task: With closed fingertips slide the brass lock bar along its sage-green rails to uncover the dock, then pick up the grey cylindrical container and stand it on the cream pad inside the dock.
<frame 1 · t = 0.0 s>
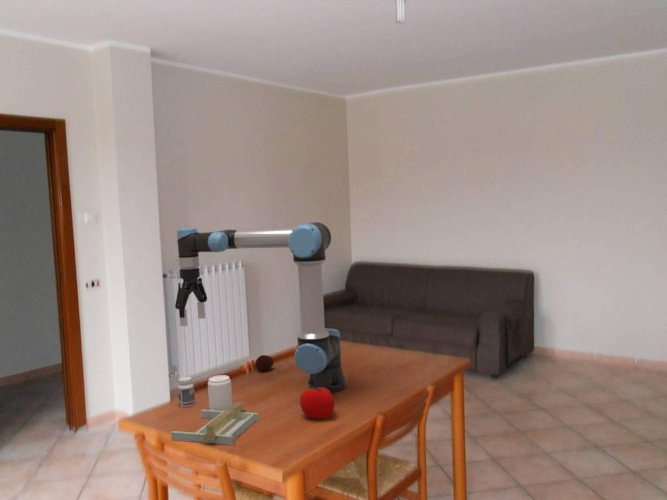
hand: (193, 322, 228), 28 cm above the table, fingers open, 13 cm apart
grey cylindrical container: (221, 411, 208), on the table
tomato: (318, 416, 199), on the table
pill bottle: (187, 405, 217), on the table
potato: (265, 370, 256), on the table
dock: (226, 430, 190), on the table
lock bar: (225, 420, 190), point 4 cm above the table, slide at 0.0 cm
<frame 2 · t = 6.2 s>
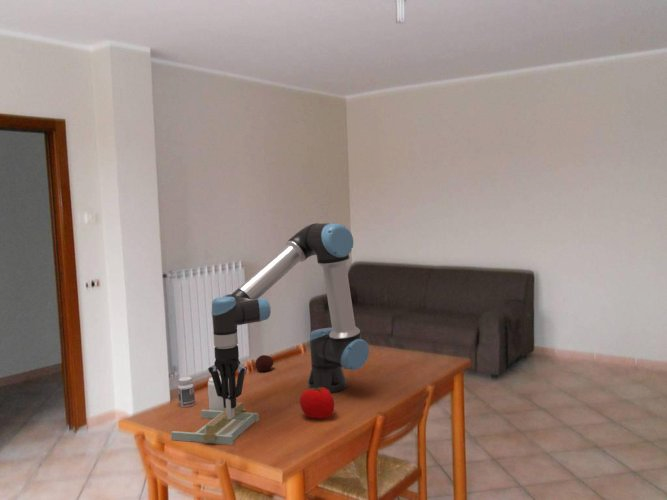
hand: (230, 417, 189), 4 cm above the table, fingers closed
lock bar: (225, 420, 190), point 4 cm above the table, slide at 0.1 cm, touching gripper
everything else where it was.
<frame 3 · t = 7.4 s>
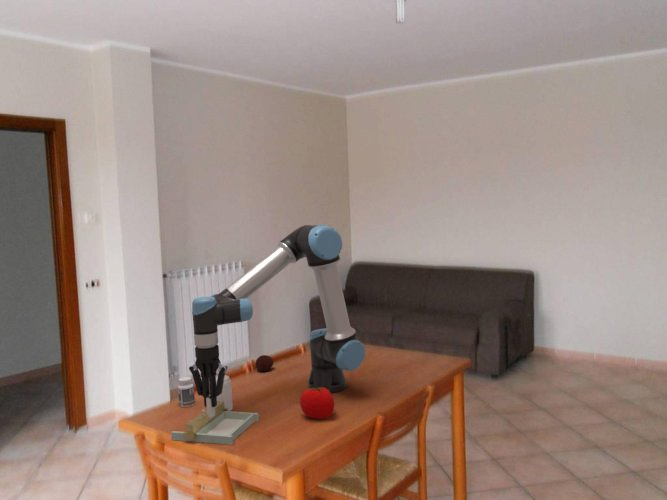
hand: (211, 416, 191), 4 cm above the table, fingers closed
lock bar: (206, 418, 192), point 4 cm above the table, slide at 7.0 cm, touching gripper
everything else where it was.
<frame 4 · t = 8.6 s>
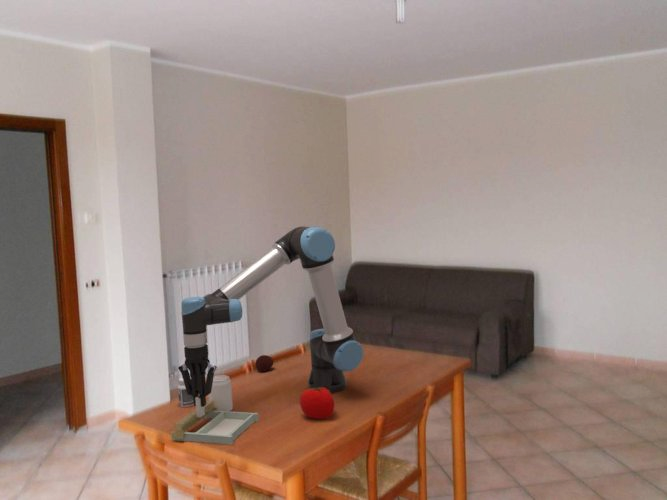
hand: (200, 415, 192), 4 cm above the table, fingers closed
lock bar: (195, 418, 193), point 4 cm above the table, slide at 10.9 cm, touching gripper
everything else where it was.
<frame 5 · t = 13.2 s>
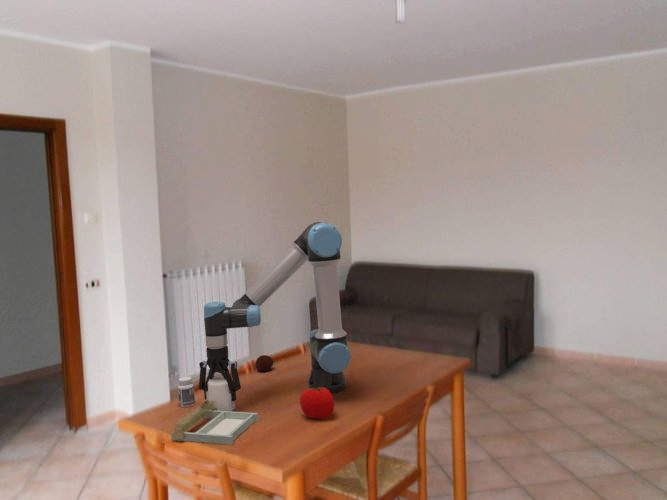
hand: (221, 409, 208), 1 cm above the table, fingers closed on grey cylindrical container, 8 cm apart
grey cylindrical container: (221, 411, 208), on the table, touching gripper
lock bar: (195, 418, 193), point 4 cm above the table, slide at 10.9 cm
everything else where it was.
when the fingers open (2 cm above the table, at t = 18.4 s): grey cylindrical container drops 1 cm, resting on dock.
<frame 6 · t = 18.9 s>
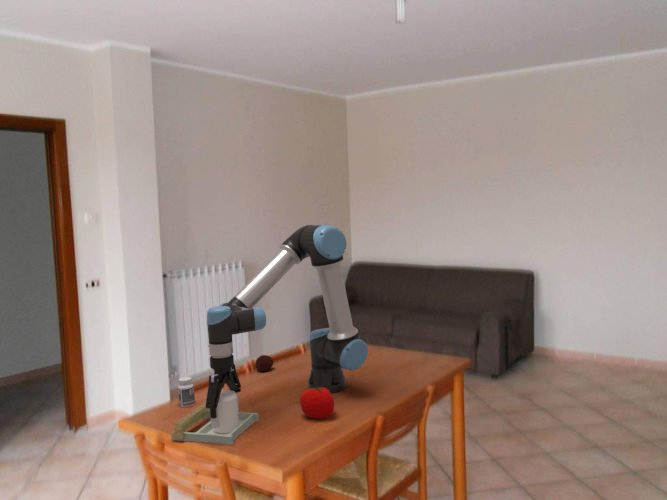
hand: (225, 419, 190), 4 cm above the table, fingers open, 13 cm apart
grey cylindrical container: (226, 430, 190), resting on dock
everything else where it was.
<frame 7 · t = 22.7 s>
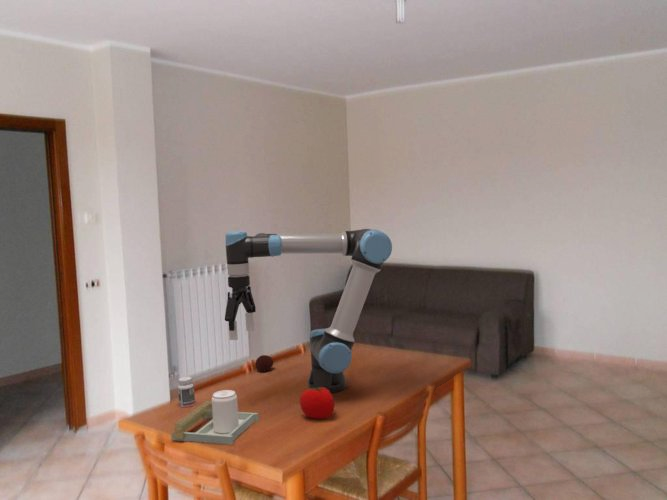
hand: (242, 335, 207), 27 cm above the table, fingers open, 13 cm apart
nothing on the table moved.
at the end: lock bar slide at 10.9 cm; grey cylindrical container inside the target area on the dock (0.0 cm from its centre), point 0.1 cm above the dock's base; grey cylindrical container tilted 0° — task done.
